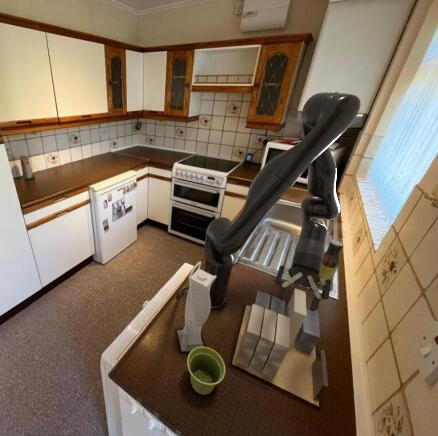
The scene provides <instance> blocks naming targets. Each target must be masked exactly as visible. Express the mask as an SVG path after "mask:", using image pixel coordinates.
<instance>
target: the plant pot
mask: <svg viewBox="0 0 438 436" xmlns="http://www.w3.org/2000/svg"><path fill="white" fill-rule="evenodd" d="M186 364H187V366H186V367H187V369H188V372H189V375H190V377H189V378H190V384H191V386H192V388H193V390H194V391H195V392H196V393H197V394H200V395H202V396H204V395H205V396H206V395H209V394H211V393H212V392H213V390H214V389H215V387H216V385H218V384H219V383H221V382H222V381H223V380H224V377H225V376H226V364H225V362H224V359H223V358H222V356H221V355H220V354H219V353H218V352H217V350H215V349H212V348H211V347H208V346H204V347H197V348H195V349H193V350H192V351H189V354H188V355H187V359H186Z"/></svg>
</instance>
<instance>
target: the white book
mask: <svg viewBox="0 0 438 436" xmlns="http://www.w3.org/2000/svg"><path fill="white" fill-rule="evenodd" d="M306 308H307V292H306V291H304V290H301V289H298V288H294V289H293V292H292V293H291V296H290V299H289V301H288V303H287V305H286V307H285V315H284V316H287V317H289V318H290V336H289V346H292V344H293V342H294V340H295V338H296V336H297V334H298V332H299V330H300V328H301V326H302V324H303V322H304V320H305V318H306Z"/></svg>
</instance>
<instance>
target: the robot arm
mask: <svg viewBox="0 0 438 436" xmlns="http://www.w3.org/2000/svg"><path fill="white" fill-rule="evenodd" d="M361 105H362V103H361V99H360V98H359V96H358V95H356V94H352V93H344V92H329V91H328V92H327V91H326V92H325V91H324V92H318V93H315V94H313V95H311V96H310V97H309V98H308V99H306V101H305V103H304V105H303V107H302V109H301V115H300V121H301V129H302V134H303V139H301V140H300V141H298V143H296V144H295V145H294V146H291V147H290V148H289V149H286V150H285V151H283V152H281V153H280V154H277V155H276V156H274V157H273V158H271V159H270V160H269V161H267V163H265V164H264V166H263V167H262V168H261V169H260V171H259V172H258V173H257V174H256V176H255V177H254V178H253V179H252V181H251V183H250V185H249V186H248V187H249V188H248V191H247V194H246V198H245V202H244V205H243V208H242V210H241V212H240V213H239V215H238V216H237V217H236V219H235V220H234V221H232V220H231V219H229V218H227V217H222V216H221V217H217V218H215V219H213V220H212V221H211V222H210V223H209V224H208V226H207V228H206V232H205V239H204V241H205V242H204V247H203V249H204V250H203V251H204V257H205V258H204V263H203V264H204V265H203V269H202V270H203V271H205V272H207V273H209V274H211V275H213V276H215V275H216V279H215V280H214V281H213V283H212V284H211V287H210V293H209V294H210V300H211V309H214V310H215V309H220V308H222V307H223V306H224V305H225V302H226V299H227V292H228V288H229V285H230V281H231V280H230V279H231V275H232V271H233V267H234V264H233V263H234V258H233V255H232V254H234V253H235V252H237V251H238V250H239V249H240V250H241V249H242V248H243V247H244V246H245V244H246V243H247V242H248V240H249V239H250V237H251V236H252V234H253V233H254V231H255V230H256V229H257V227H258V226H259V225H260V223H261V222H262V220H264V219H265V217H266V216H267V215H268V214H269V213H270V211H271V210H272V209H273V208H274V206H275V205H276V204H277V203H278V202H279V201H280V200H281V199H282V197H284V195H286V193H288V191H289V190H290V189H291V188H292V187H293V185H294V184H295V183H296V182H297V181H298V179H299V178H300V177H301V176H302V174H304V172H305V171H306V170H307V193H308V194H309V196H308V197H305V198H304V199H303V200H302V201H301V204H300V214H301V228H300V233H299V237H298V240H297V243H296V245H295V248H294V254H293V258H292V262H291V266H290V267H286V266H285V265H283V264H282V265H280V266H279V267H278V270H277V274H276V277H275V280H274V283H275V284H276V285H278V286H279V292H278V298H279V299H280V300H285V296H286V291H287V288H286V287H288V286H290V285H291V284H294V285H297V286H301V287H303V288H308V289H309V291H310V292H311V294H312V296H313V298H312V300H311V305H310V308H309V309H310V310H311V311H317V310H318V309H319V305H320V303H321V302H320V301H321V300H329V298H330V293H331V286H332V280H330V279H323V278H320V276H319V273H320V269H321V264H322V259H323V255H324V252H325V245H326V240H327V237H328V227H327V226H326V225H324V224H322V223H319V222H316V221H314V220H312V219H316V220H325V221H333V220H335V219H336V218H338V216H339V215H340V211H341V208H340V202H339V200H338V197H337V192H336V182H337V172H338V171H337V170H338V169H337V165H336V161H335V159H334V156H333V153H332V151H331V149H330V146H331V145H332V144H333V143H334V142H335V141H336V140H337V139H338V138H339V137H340V136H342V135H343V134H344V132H345V131H347V129H348V128H349V127H351V125H352V123H354V121H355V119H357V116H358V114H359V113H360V110H361ZM286 273H288V275H289V278H288V279H287V280H286V281H284V282H282V279H283V275H284V274H286ZM319 281H320V282H321V285H322V286H323V288H322V290H321V293H320V292H319V288H318V287H316V285H315V284H316V283H317V282H319ZM189 287H190V286H186V287H184V288H182V289H181V291H178V293H176V294H175V296H174V298H175V299H176V300H178V299H179V298H181V297H182V295H183V293H184V292H185V291H188V290H189Z"/></svg>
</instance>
